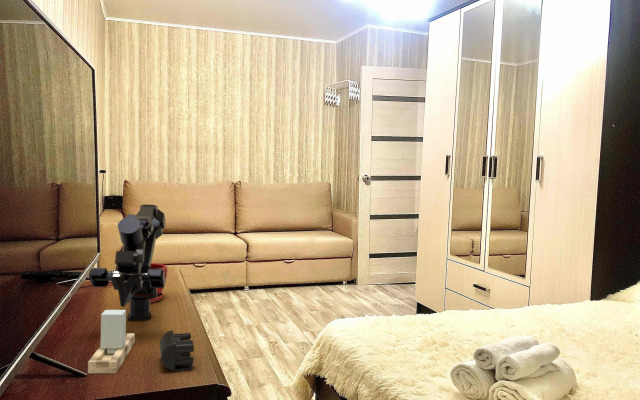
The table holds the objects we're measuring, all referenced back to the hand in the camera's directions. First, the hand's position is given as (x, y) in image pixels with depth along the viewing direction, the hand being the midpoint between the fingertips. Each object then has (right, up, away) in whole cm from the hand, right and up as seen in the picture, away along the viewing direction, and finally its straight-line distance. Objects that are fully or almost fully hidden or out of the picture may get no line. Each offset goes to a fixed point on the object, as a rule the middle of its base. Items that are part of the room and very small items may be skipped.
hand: (122, 305), depth 136 cm
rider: (+1, -9, -8) cm, 13 cm away
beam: (+1, -11, -8) cm, 14 cm away
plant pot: (-9, -7, +45) cm, 46 cm away
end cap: (+17, -12, -11) cm, 23 cm away
